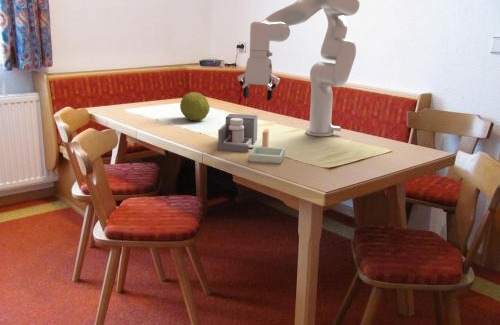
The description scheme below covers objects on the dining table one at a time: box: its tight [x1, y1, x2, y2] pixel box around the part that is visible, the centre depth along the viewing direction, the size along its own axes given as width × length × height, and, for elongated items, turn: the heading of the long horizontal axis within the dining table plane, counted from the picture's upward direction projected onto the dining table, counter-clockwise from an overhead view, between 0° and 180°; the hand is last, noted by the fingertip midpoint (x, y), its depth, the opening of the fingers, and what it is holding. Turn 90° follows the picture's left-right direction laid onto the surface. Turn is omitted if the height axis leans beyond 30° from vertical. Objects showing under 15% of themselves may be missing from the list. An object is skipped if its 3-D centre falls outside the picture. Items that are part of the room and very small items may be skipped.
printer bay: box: [217, 113, 258, 153], centre depth 195 cm, size 12×20×11 cm, turn 169°
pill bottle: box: [229, 118, 244, 143], centre depth 192 cm, size 6×6×11 cm
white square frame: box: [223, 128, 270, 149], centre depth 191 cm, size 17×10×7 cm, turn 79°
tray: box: [248, 146, 286, 165], centre depth 178 cm, size 12×12×3 cm
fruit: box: [179, 91, 211, 122], centre depth 239 cm, size 16×14×15 cm
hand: (257, 99), depth 191 cm, fingers open, 9 cm apart
